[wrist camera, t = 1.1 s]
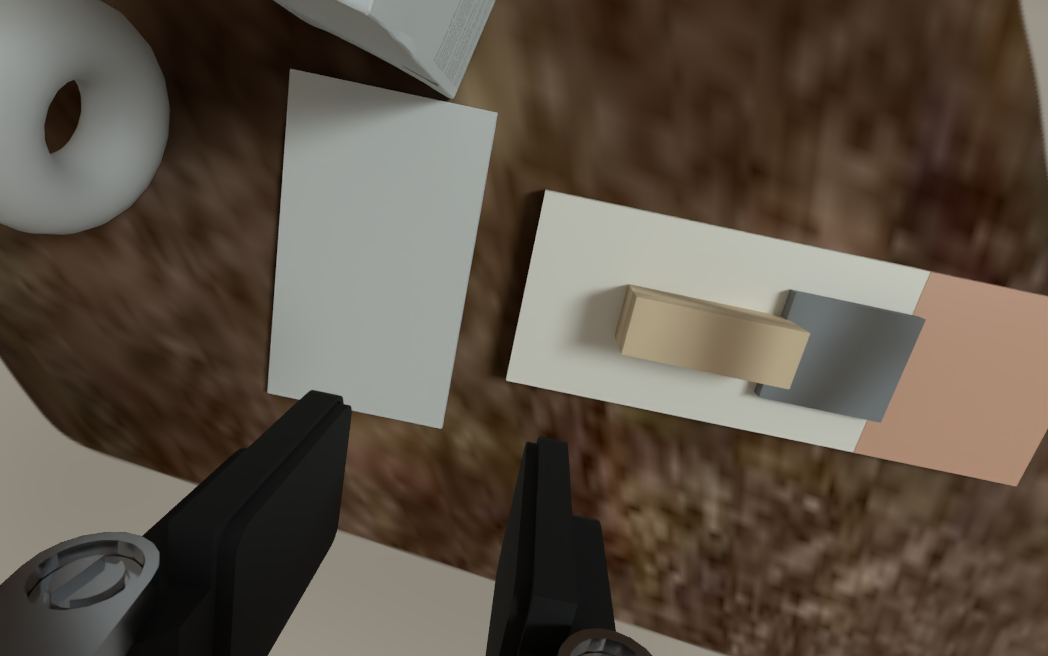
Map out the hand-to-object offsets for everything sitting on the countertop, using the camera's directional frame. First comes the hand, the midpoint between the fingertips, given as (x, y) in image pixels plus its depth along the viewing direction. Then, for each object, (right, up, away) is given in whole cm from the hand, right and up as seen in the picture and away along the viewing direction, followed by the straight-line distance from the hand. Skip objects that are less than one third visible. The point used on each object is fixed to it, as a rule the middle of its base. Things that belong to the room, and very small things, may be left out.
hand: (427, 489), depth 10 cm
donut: (-17, +13, +17) cm, 27 cm away
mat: (-6, +6, +18) cm, 20 cm away
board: (+16, +2, +19) cm, 24 cm away
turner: (+14, +2, +17) cm, 22 cm away
